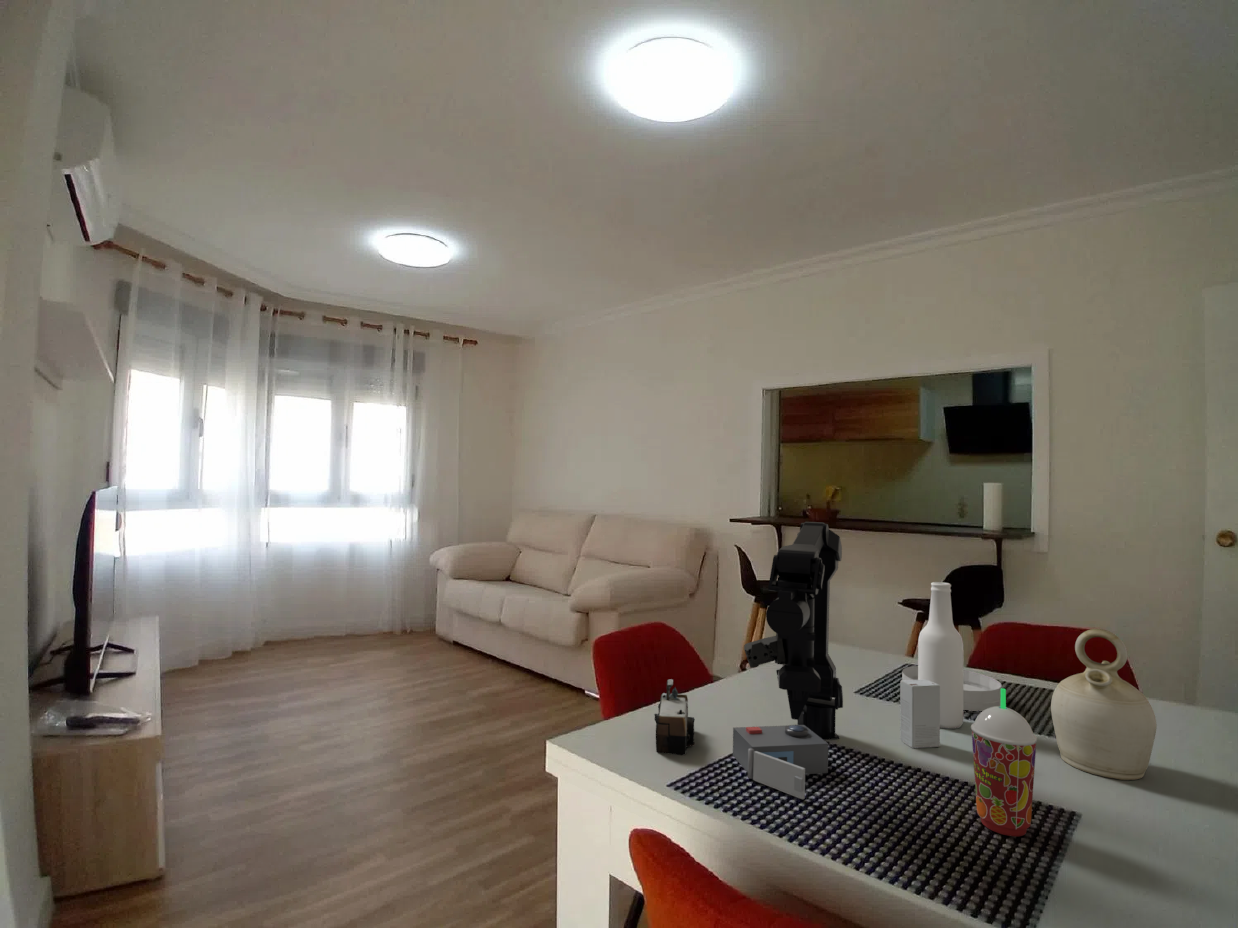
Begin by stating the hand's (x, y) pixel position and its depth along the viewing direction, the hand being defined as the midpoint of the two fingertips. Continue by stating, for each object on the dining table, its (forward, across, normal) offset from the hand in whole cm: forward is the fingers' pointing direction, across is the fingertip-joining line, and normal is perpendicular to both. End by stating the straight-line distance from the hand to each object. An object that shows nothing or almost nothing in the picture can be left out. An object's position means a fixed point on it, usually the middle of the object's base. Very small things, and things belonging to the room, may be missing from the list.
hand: (794, 718), depth 105 cm
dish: (+11, -60, +41) cm, 74 cm away
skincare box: (+11, -25, +26) cm, 37 cm away
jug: (+11, -23, +56) cm, 62 cm away
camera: (+11, -14, -21) cm, 27 cm away
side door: (+10, +3, -3) cm, 11 cm away
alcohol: (+11, -40, +34) cm, 53 cm away
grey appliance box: (+11, -8, -2) cm, 13 cm away
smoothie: (+11, +6, +29) cm, 32 cm away
